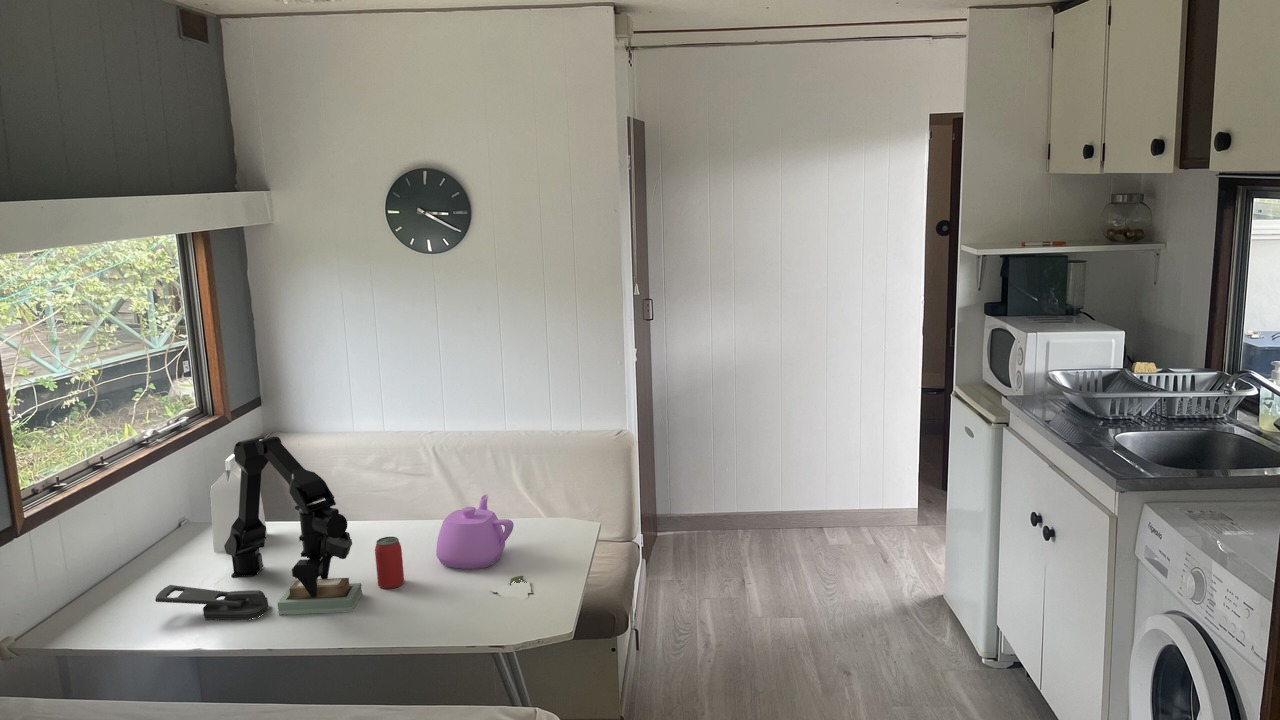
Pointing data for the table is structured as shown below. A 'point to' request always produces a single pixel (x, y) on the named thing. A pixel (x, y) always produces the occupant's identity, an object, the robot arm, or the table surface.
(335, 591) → the brown two-tone block
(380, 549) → the beer can
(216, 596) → the zipper pull
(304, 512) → the robot arm
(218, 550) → the milk
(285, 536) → the table surface
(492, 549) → the teapot
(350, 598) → the cradle
